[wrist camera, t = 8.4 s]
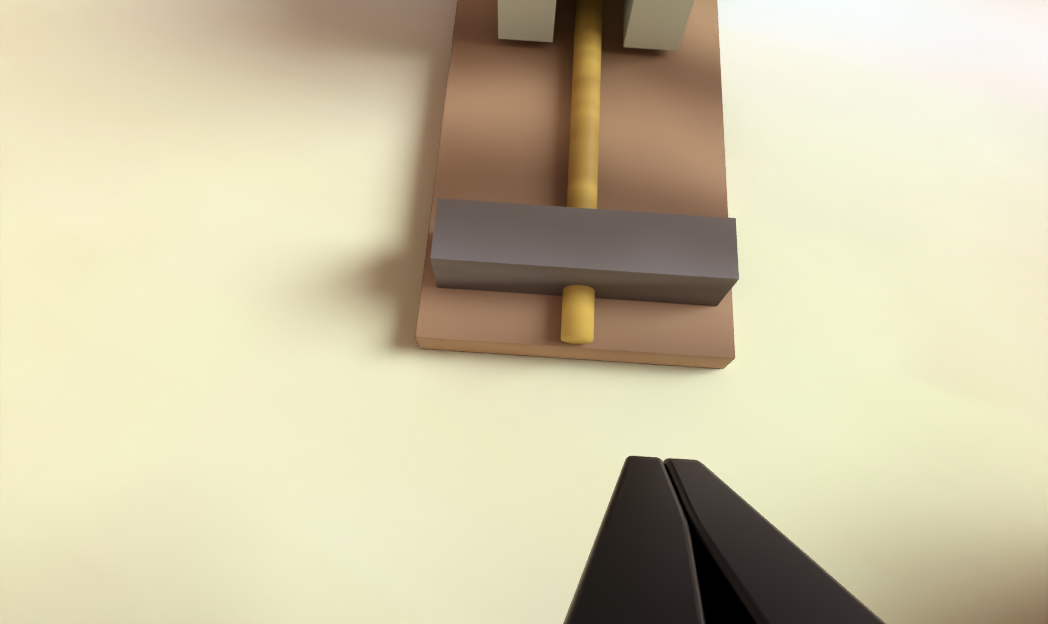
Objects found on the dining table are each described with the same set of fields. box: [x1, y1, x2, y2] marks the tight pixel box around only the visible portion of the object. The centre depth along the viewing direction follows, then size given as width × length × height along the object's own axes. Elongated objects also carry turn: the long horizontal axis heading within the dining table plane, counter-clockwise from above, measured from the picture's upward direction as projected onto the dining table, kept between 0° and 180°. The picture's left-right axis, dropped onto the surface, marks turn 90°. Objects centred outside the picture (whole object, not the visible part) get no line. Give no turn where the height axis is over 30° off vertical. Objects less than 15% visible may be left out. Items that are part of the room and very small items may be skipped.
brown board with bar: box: [416, 0, 739, 369], centre depth 24 cm, size 22×10×6 cm, turn 176°
